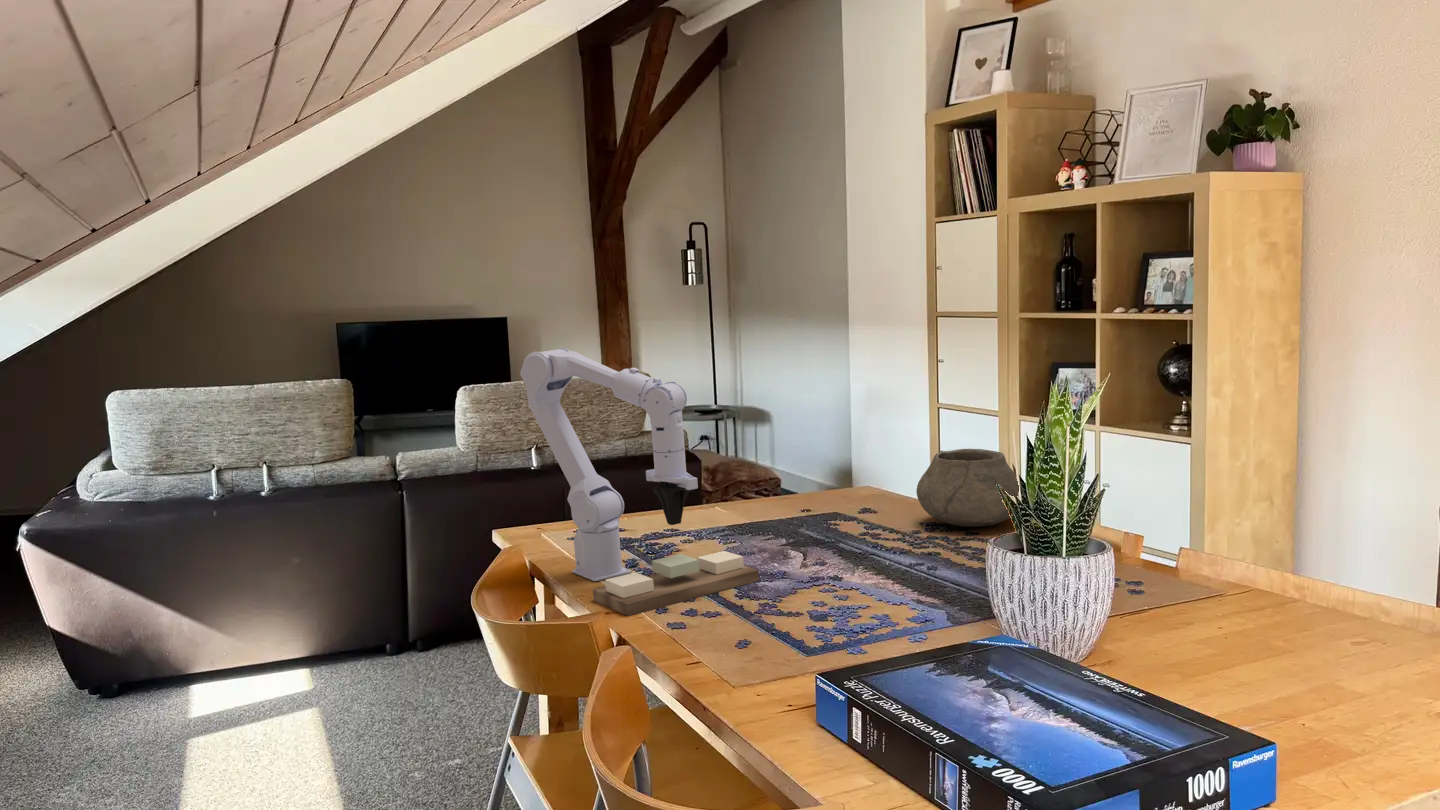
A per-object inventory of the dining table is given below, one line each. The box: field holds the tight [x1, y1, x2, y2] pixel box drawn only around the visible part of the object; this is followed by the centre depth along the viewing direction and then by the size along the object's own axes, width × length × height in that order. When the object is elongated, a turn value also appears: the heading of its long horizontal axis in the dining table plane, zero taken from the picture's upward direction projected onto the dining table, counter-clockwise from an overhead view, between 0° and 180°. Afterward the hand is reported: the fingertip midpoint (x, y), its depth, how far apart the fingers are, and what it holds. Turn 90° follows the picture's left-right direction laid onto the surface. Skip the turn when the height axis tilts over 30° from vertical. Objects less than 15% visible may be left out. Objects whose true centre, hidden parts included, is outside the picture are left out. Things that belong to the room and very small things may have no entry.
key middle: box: [651, 553, 700, 578], centre depth 183 cm, size 6×6×2 cm
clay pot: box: [915, 448, 1019, 528], centre depth 217 cm, size 22×21×15 cm
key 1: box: [604, 572, 654, 598], centre depth 178 cm, size 6×6×2 cm
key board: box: [592, 565, 760, 617], centre depth 184 cm, size 12×27×2 cm, turn 125°
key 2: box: [696, 550, 745, 574], centre depth 189 cm, size 6×6×2 cm
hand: (674, 523), depth 190 cm, fingers closed
